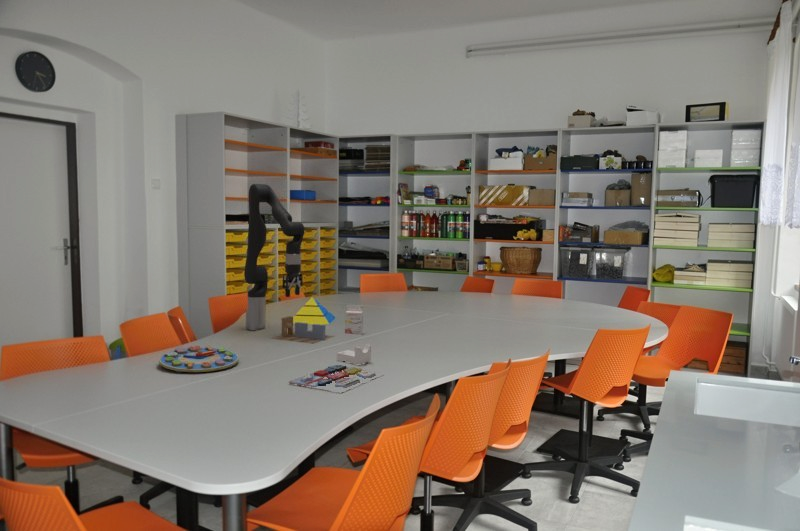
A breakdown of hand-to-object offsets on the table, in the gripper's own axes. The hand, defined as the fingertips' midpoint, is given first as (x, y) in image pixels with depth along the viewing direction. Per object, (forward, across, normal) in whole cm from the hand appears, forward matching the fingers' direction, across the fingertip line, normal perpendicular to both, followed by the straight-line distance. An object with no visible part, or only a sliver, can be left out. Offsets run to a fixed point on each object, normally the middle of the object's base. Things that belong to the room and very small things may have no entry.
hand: (292, 295), depth 316 cm
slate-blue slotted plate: (+19, +2, +12) cm, 23 cm away
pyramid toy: (+22, -47, -17) cm, 54 cm away
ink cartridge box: (+20, -22, +23) cm, 38 cm away
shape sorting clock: (+21, +65, -2) cm, 68 cm away
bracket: (+20, +30, +50) cm, 62 cm away
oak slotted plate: (+20, +2, -2) cm, 20 cm away
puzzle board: (+20, +59, +58) cm, 85 cm away
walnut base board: (+20, +2, +8) cm, 22 cm away
